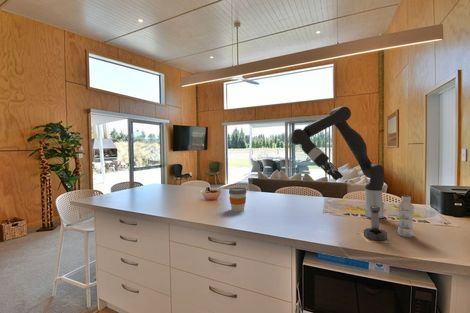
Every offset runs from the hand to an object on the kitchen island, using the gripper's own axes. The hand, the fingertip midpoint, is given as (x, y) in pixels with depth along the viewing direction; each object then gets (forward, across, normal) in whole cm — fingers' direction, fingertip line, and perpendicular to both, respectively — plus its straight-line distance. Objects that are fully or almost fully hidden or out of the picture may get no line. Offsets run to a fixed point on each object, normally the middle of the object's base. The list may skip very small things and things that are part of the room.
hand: (339, 178), depth 131 cm
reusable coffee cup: (-30, +3, +69) cm, 75 cm away
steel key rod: (+31, -6, +7) cm, 32 cm away
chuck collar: (+31, -6, +7) cm, 32 cm away
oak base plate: (+32, -6, +7) cm, 33 cm away
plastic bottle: (+40, +6, -1) cm, 40 cm away
